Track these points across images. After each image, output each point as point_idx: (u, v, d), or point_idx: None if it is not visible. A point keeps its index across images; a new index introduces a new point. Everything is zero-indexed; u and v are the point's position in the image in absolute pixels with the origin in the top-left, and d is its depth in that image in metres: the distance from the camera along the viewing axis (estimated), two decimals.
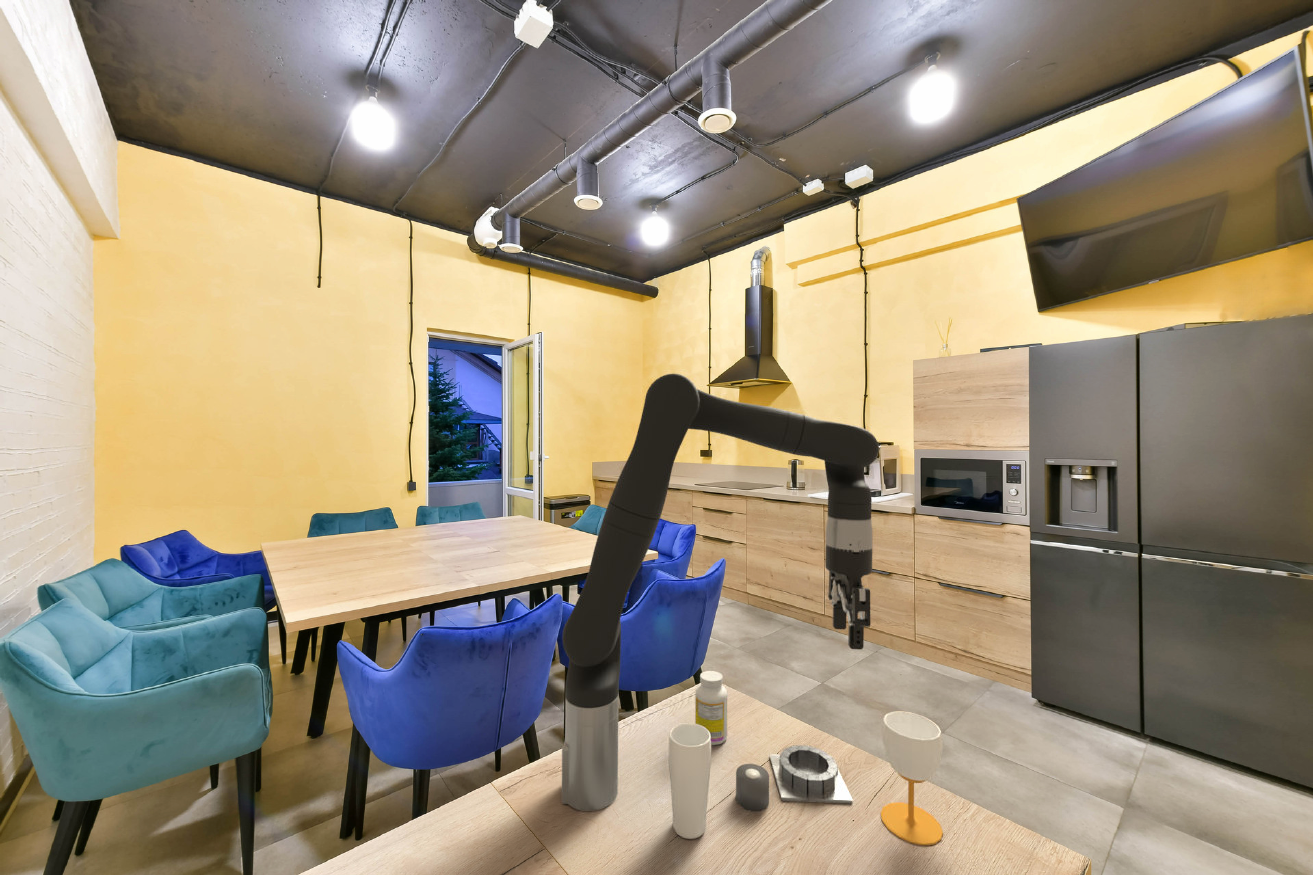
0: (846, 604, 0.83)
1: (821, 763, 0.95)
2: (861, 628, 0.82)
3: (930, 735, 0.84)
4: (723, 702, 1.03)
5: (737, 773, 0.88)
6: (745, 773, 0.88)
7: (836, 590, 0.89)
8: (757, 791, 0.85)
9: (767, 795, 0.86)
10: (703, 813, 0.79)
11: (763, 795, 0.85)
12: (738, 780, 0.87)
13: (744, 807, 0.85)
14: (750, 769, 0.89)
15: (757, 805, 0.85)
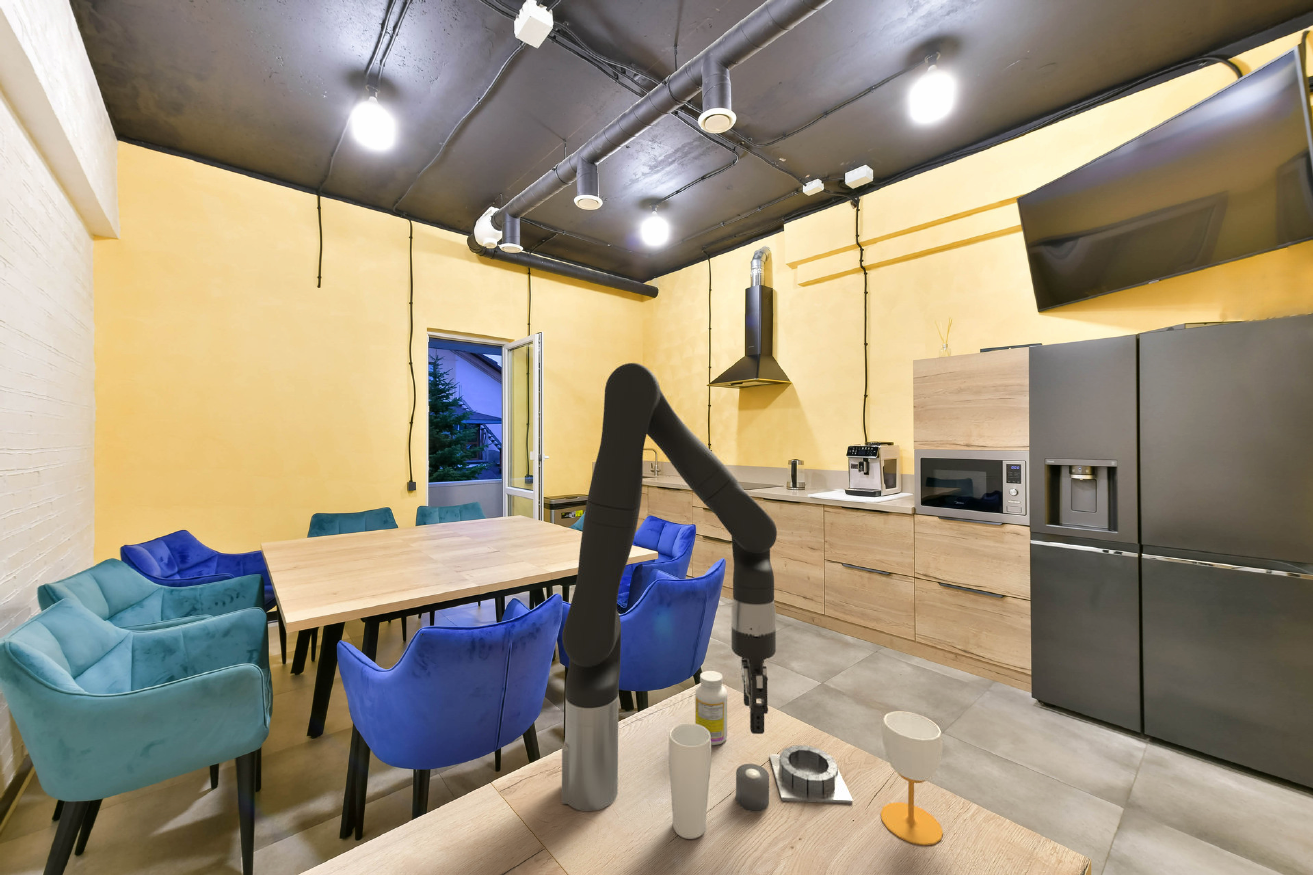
0: (748, 688, 0.84)
1: (821, 763, 0.95)
2: (761, 713, 0.82)
3: (930, 735, 0.84)
4: (723, 702, 1.03)
5: (737, 773, 0.88)
6: (745, 773, 0.88)
7: None
8: (757, 791, 0.85)
9: (767, 795, 0.86)
10: (703, 813, 0.79)
11: (763, 795, 0.85)
12: (738, 780, 0.87)
13: (744, 807, 0.85)
14: (750, 769, 0.89)
15: (757, 805, 0.85)
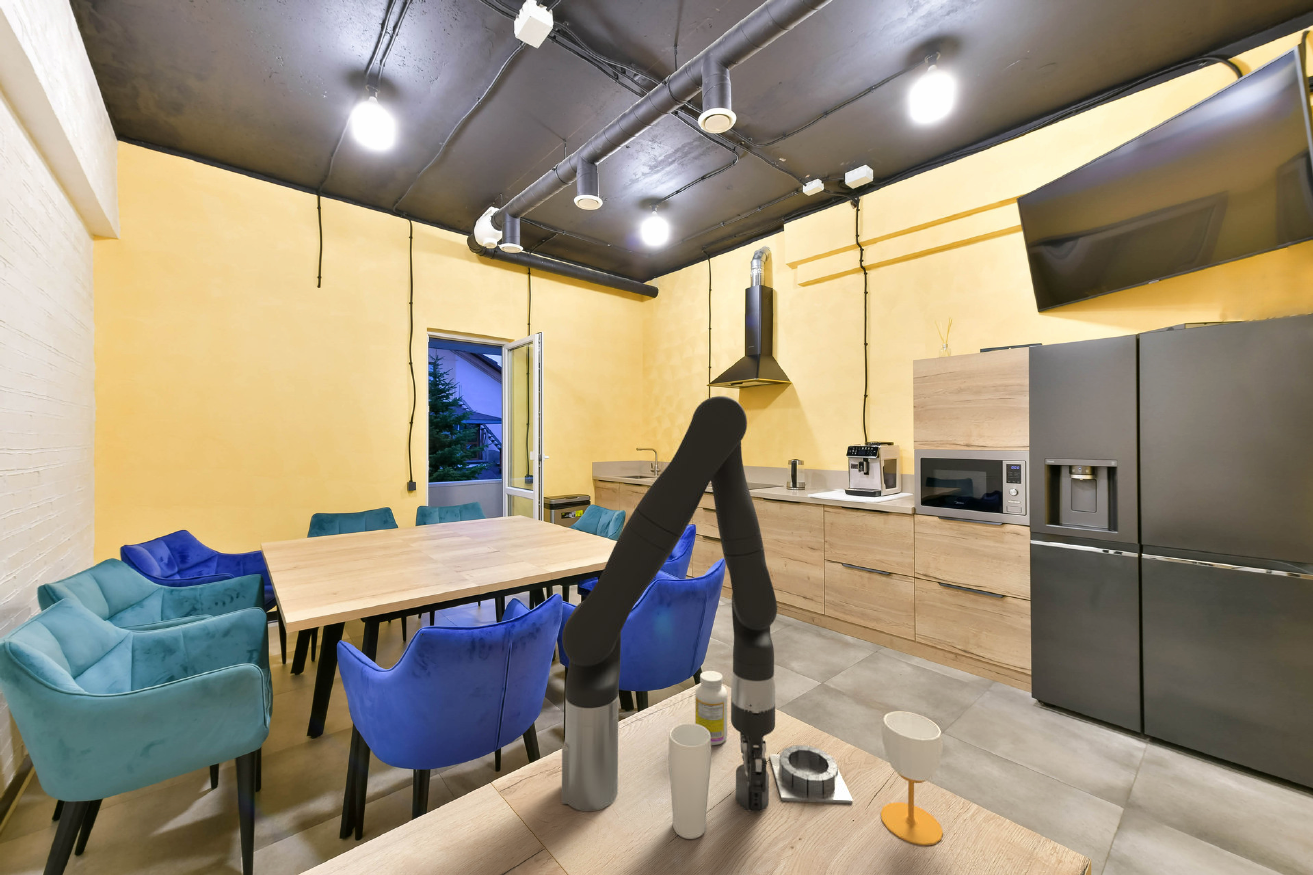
0: (746, 765, 0.85)
1: (821, 763, 0.95)
2: None
3: (930, 735, 0.84)
4: (723, 702, 1.03)
5: (737, 773, 0.88)
6: (745, 773, 0.88)
7: None
8: None
9: (767, 795, 0.86)
10: (703, 813, 0.79)
11: (763, 795, 0.85)
12: (737, 780, 0.87)
13: (744, 807, 0.85)
14: None
15: None
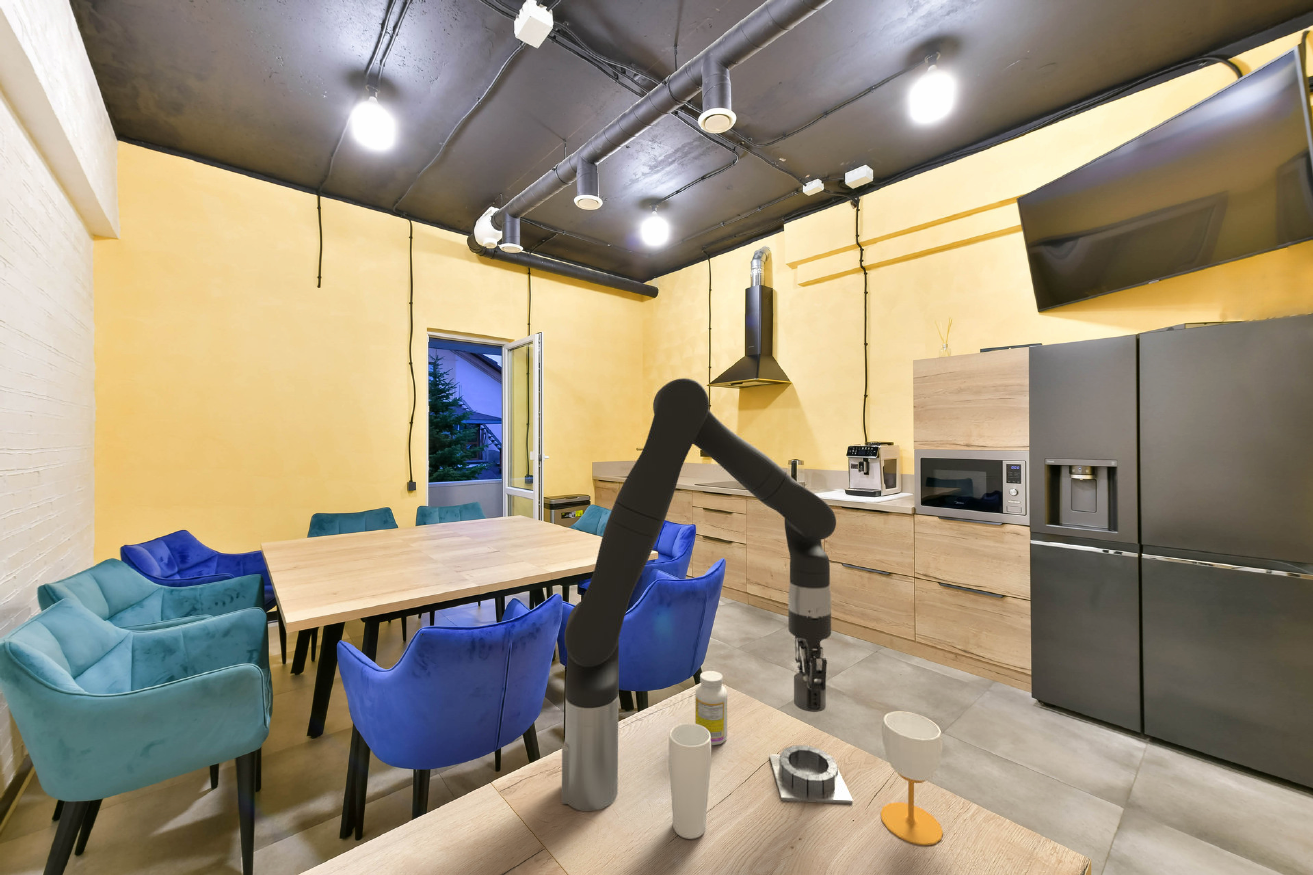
0: (805, 668, 0.90)
1: (821, 763, 0.95)
2: (818, 691, 0.89)
3: (930, 735, 0.84)
4: (723, 702, 1.03)
5: (795, 678, 0.93)
6: (802, 678, 0.93)
7: (799, 651, 0.94)
8: None
9: (824, 697, 0.91)
10: (703, 813, 0.79)
11: (821, 696, 0.91)
12: (796, 684, 0.92)
13: (803, 708, 0.91)
14: None
15: None
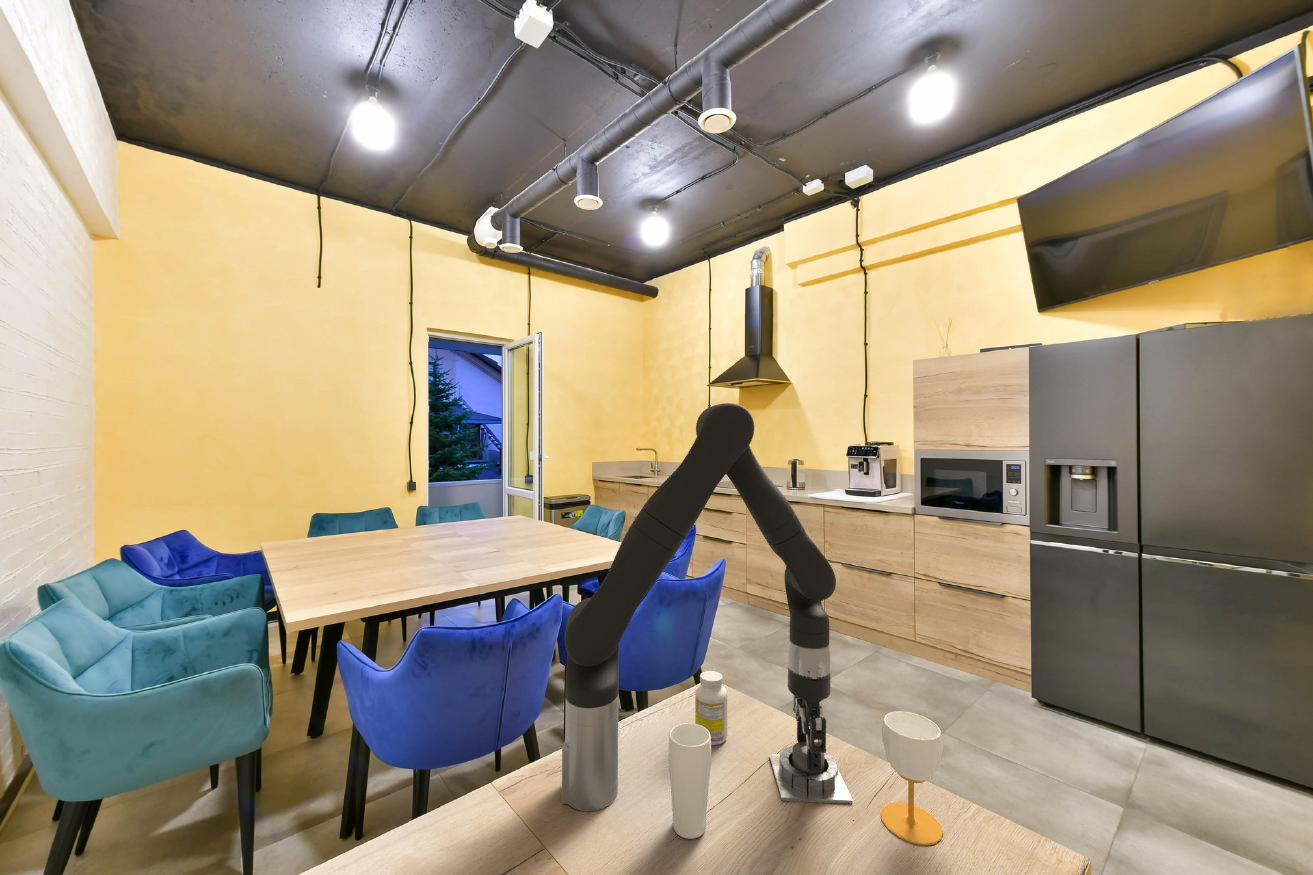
0: (805, 727, 0.90)
1: None
2: None
3: (930, 735, 0.84)
4: (723, 702, 1.03)
5: (794, 750, 0.93)
6: (801, 750, 0.93)
7: (798, 708, 0.95)
8: None
9: (823, 770, 0.91)
10: (703, 813, 0.79)
11: (820, 770, 0.91)
12: (795, 756, 0.92)
13: None
14: (806, 746, 0.94)
15: None
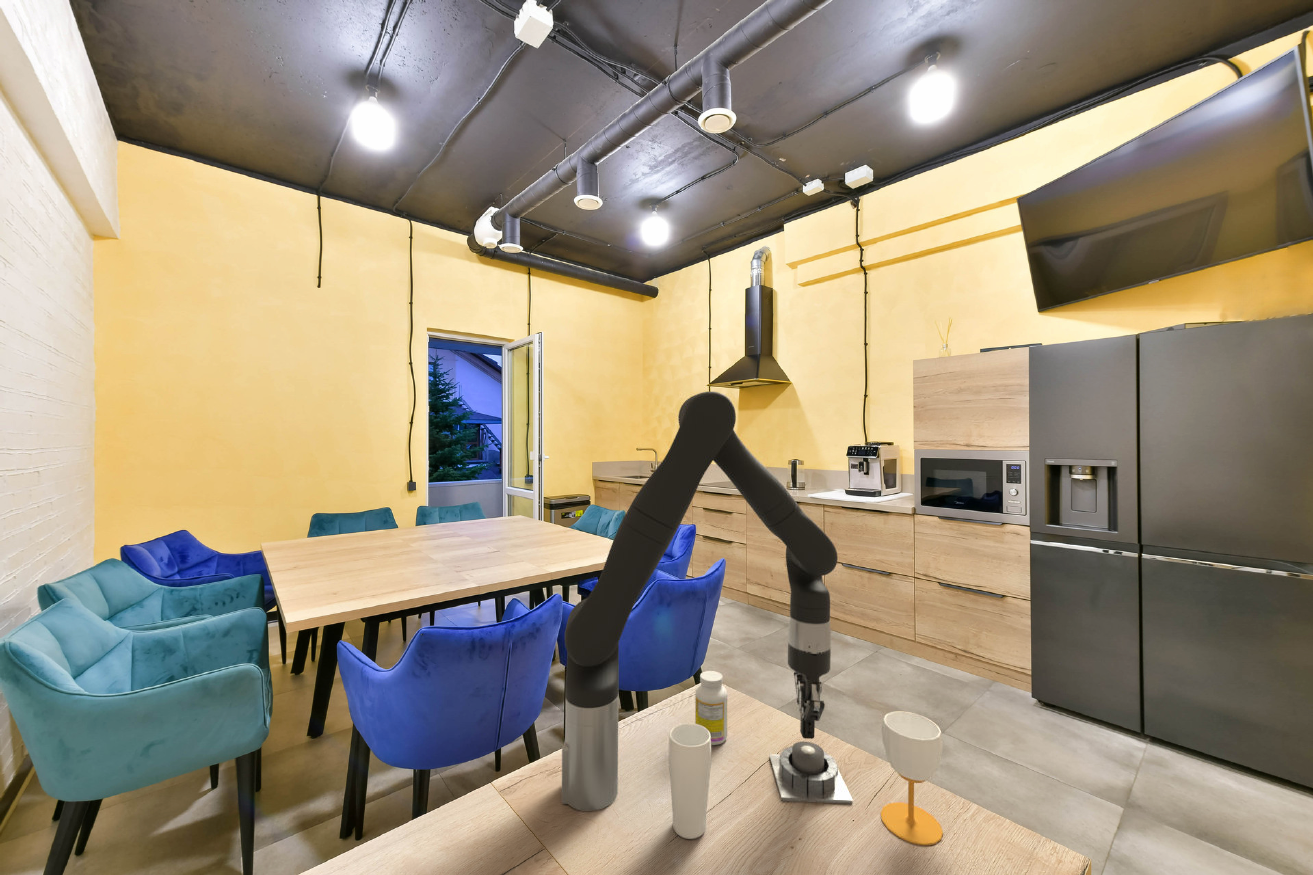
0: (802, 702, 0.92)
1: None
2: (812, 720, 0.92)
3: (930, 735, 0.84)
4: (723, 702, 1.03)
5: (793, 750, 0.93)
6: (801, 750, 0.93)
7: None
8: (815, 765, 0.90)
9: (823, 769, 0.92)
10: (703, 813, 0.79)
11: (820, 769, 0.91)
12: (795, 756, 0.92)
13: None
14: (805, 746, 0.94)
15: None
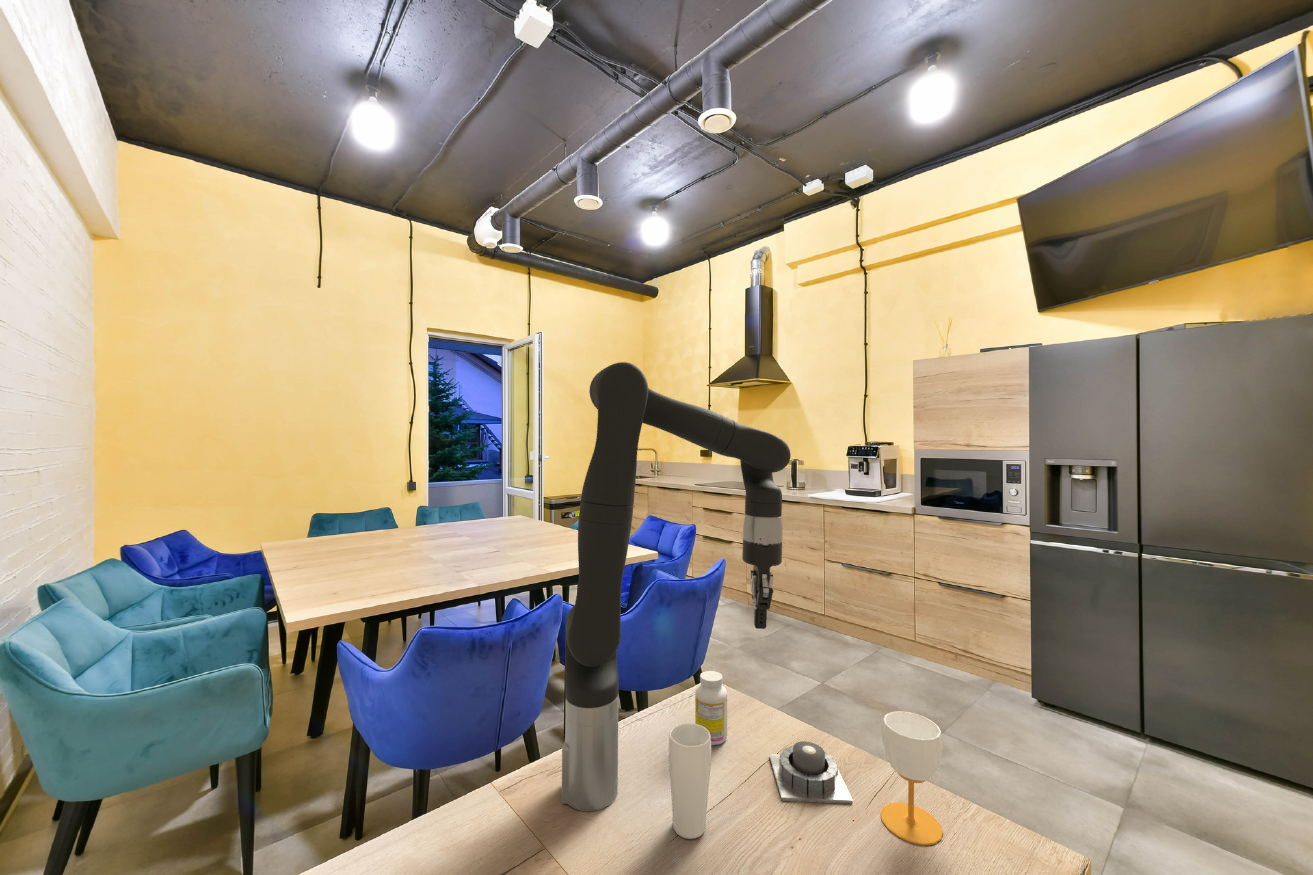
0: (754, 593, 0.97)
1: None
2: (764, 611, 0.97)
3: (930, 735, 0.84)
4: (723, 702, 1.03)
5: (794, 750, 0.93)
6: (802, 750, 0.93)
7: None
8: (816, 765, 0.90)
9: (823, 769, 0.92)
10: (703, 813, 0.79)
11: (821, 769, 0.91)
12: (796, 756, 0.92)
13: None
14: (806, 746, 0.94)
15: None
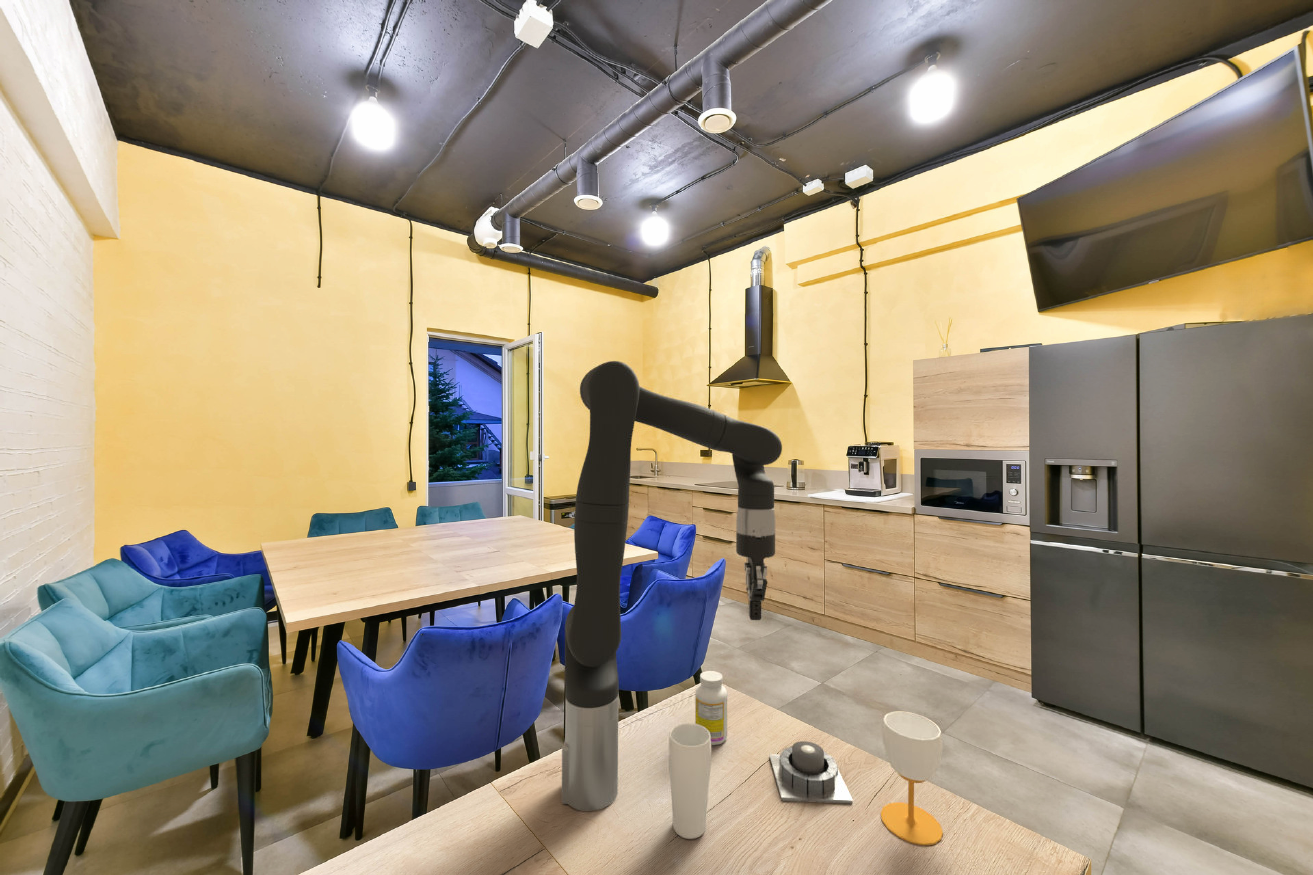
0: (749, 585, 0.98)
1: None
2: (758, 602, 0.98)
3: (930, 735, 0.84)
4: (723, 702, 1.03)
5: (794, 750, 0.93)
6: (801, 749, 0.93)
7: None
8: (816, 764, 0.91)
9: (823, 768, 0.92)
10: (703, 813, 0.79)
11: (821, 768, 0.91)
12: (796, 757, 0.92)
13: None
14: (805, 746, 0.94)
15: None
